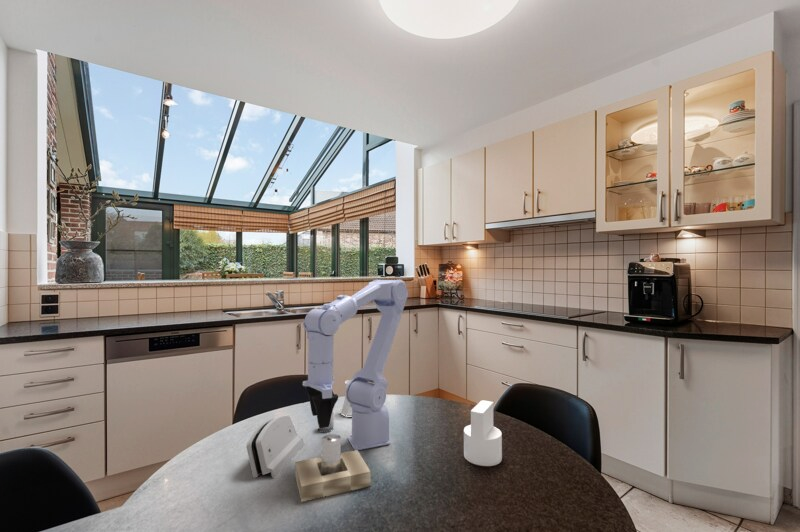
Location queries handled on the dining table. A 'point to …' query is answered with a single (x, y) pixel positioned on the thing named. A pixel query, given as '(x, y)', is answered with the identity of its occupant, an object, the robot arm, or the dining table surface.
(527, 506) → the dining table surface
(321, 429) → the short pin
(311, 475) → the hole plate
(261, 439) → the white slotted housing
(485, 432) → the base with upright slab
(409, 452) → the dining table surface
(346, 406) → the vase
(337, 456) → the tall pin
